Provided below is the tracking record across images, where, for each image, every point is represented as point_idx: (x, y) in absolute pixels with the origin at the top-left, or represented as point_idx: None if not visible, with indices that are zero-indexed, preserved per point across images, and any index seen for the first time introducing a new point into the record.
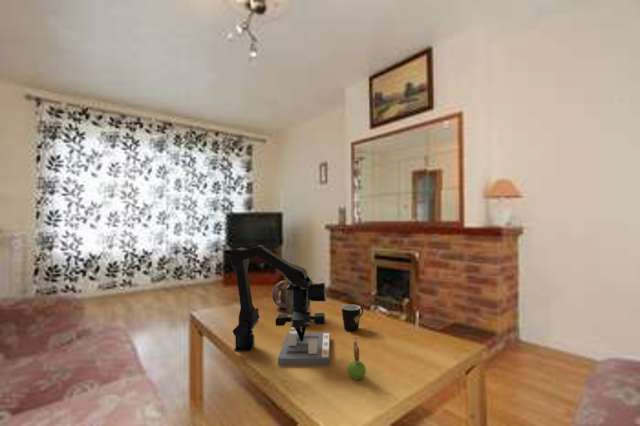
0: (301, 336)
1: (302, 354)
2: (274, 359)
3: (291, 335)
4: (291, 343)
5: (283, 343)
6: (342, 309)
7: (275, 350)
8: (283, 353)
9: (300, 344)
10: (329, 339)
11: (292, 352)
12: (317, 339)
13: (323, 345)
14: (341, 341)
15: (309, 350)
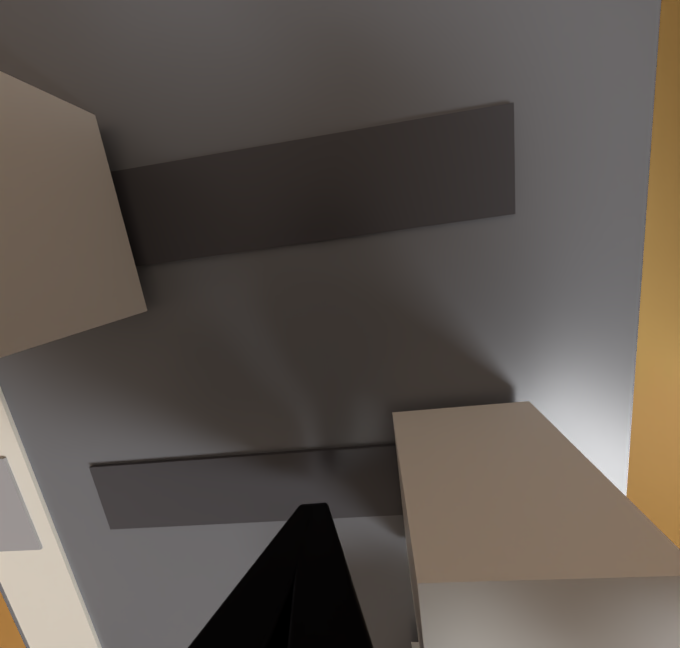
0: (287, 585)
1: (209, 110)
2: (661, 144)
3: (576, 572)
4: (487, 425)
5: (625, 495)
6: None
7: (675, 414)
8: (576, 93)
9: (340, 471)
10: (19, 627)
11: (405, 156)
12: (158, 625)
13: (12, 462)
14: (12, 638)
15: (18, 90)
